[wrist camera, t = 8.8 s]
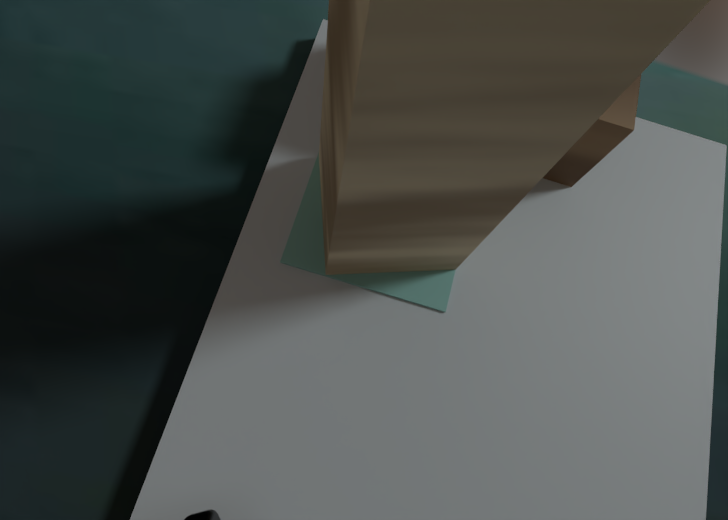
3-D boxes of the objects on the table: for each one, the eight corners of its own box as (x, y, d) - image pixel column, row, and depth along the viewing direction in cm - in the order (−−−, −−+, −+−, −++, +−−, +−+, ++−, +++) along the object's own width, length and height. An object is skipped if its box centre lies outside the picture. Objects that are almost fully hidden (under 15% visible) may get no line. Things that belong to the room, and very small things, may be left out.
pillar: (455, 269, 18) (764, -57, 6) (325, 274, 18) (382, -74, 6) (440, 153, 20) (668, -303, 8) (318, 154, 19) (351, -338, 7)
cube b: (571, 187, 20) (633, 130, 16) (470, 155, 20) (509, 91, 16) (585, 101, 21) (646, 30, 18) (490, 71, 21) (531, -7, 18)
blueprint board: (664, 804, 15) (691, 831, 14) (91, 640, 15) (75, 655, 14) (708, 157, 23) (728, 144, 22) (322, 36, 22) (323, 17, 21)
